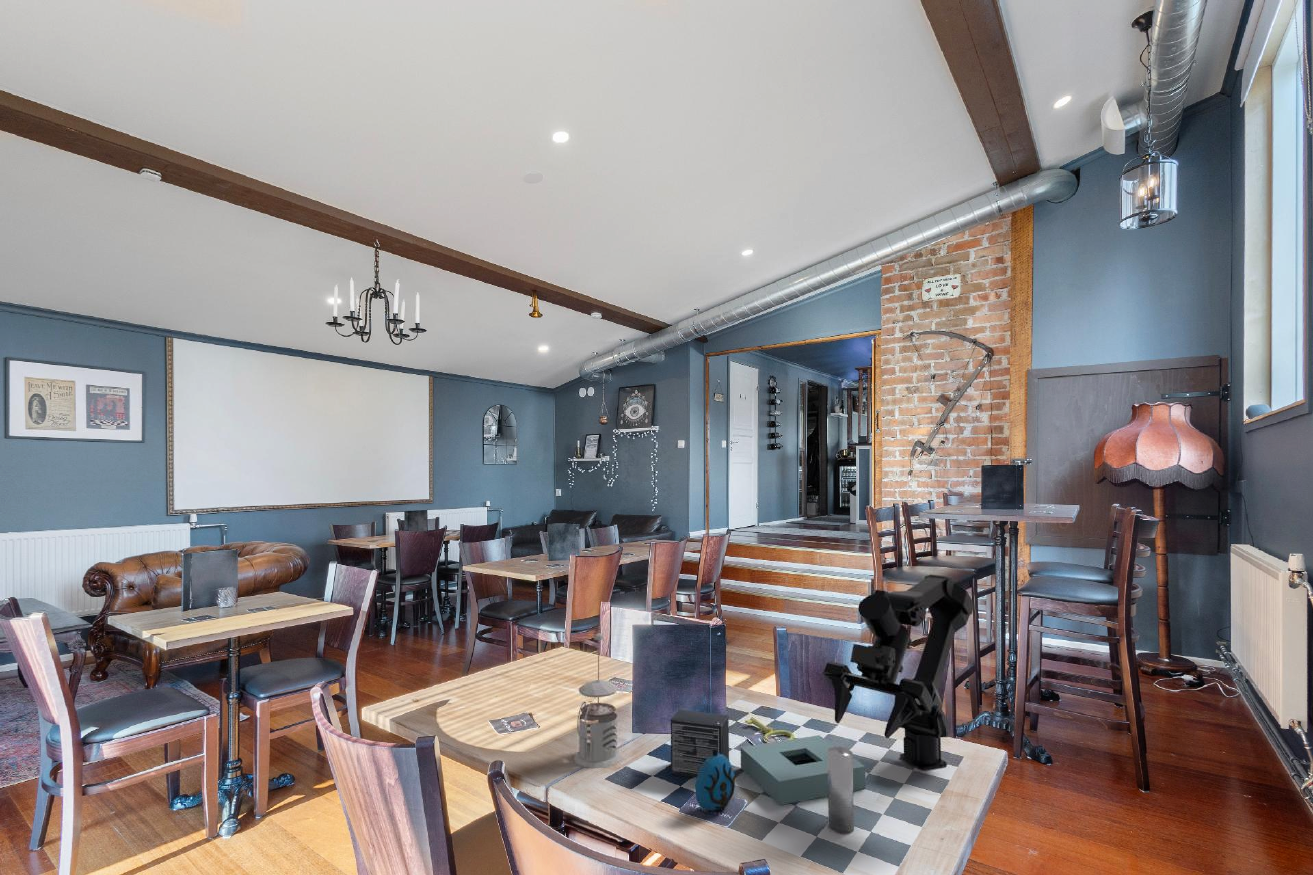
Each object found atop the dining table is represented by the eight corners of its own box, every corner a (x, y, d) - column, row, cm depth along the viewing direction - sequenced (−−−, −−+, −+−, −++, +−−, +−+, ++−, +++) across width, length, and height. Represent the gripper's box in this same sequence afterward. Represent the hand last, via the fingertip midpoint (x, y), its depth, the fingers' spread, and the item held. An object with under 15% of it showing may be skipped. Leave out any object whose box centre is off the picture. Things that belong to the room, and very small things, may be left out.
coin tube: (844, 818, 108) (842, 745, 108) (859, 831, 104) (857, 755, 105) (823, 822, 106) (822, 748, 107) (838, 835, 103) (836, 758, 103)
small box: (730, 768, 126) (730, 713, 127) (723, 783, 120) (722, 725, 121) (679, 760, 130) (679, 707, 130) (669, 774, 124) (669, 718, 124)
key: (751, 725, 149) (751, 715, 149) (798, 740, 141) (798, 730, 141) (733, 734, 144) (733, 724, 144) (781, 750, 135) (781, 740, 136)
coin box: (819, 754, 132) (819, 735, 132) (865, 788, 118) (865, 766, 118) (740, 768, 126) (740, 747, 126) (779, 804, 112) (779, 781, 112)
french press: (630, 751, 134) (630, 630, 135) (602, 775, 123) (603, 643, 125) (589, 743, 138) (590, 625, 139) (559, 765, 127) (560, 638, 129)
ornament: (706, 822, 107) (706, 760, 107) (689, 810, 110) (688, 750, 111) (742, 807, 111) (742, 748, 112) (724, 796, 115) (724, 739, 116)
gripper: (826, 618, 123) (795, 691, 114) (924, 635, 110) (897, 719, 101) (847, 651, 128) (819, 723, 119) (943, 671, 115) (919, 754, 106)
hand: (860, 729), depth 111 cm, fingers open, 9 cm apart
